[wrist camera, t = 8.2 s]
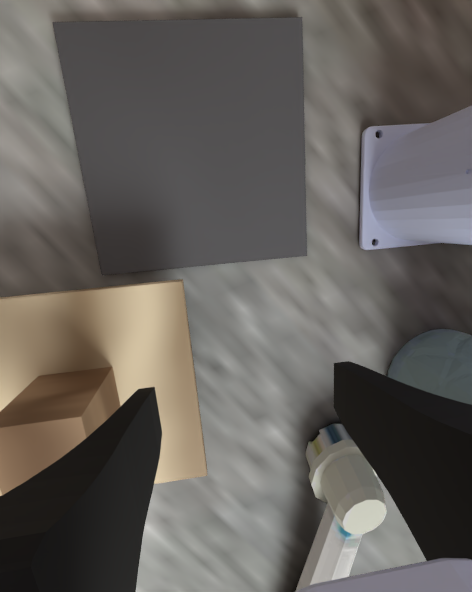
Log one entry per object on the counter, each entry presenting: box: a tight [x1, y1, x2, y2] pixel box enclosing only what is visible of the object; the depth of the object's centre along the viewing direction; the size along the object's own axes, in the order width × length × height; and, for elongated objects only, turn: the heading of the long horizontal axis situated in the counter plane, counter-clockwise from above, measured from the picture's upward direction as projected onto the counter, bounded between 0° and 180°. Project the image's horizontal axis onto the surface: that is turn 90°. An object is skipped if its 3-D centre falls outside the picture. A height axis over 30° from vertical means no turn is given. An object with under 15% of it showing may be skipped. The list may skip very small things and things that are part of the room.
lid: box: [0, 279, 207, 496], centre depth 15 cm, size 13×13×5 cm
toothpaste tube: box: [296, 424, 387, 591], centre depth 26 cm, size 5×7×25 cm
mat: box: [53, 17, 307, 275], centre depth 19 cm, size 14×14×1 cm
